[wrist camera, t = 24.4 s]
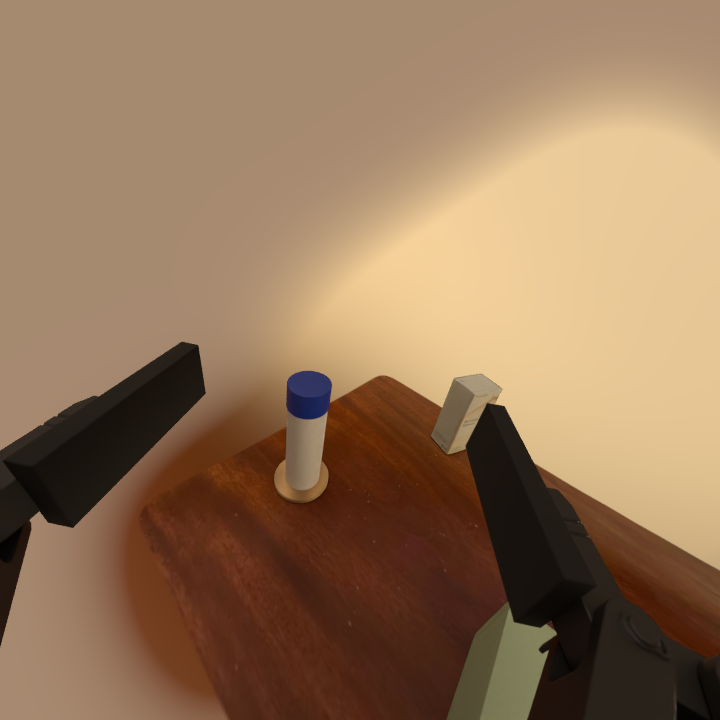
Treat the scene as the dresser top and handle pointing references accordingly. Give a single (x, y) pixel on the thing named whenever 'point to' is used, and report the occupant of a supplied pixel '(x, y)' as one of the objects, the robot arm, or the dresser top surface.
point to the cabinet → (501, 670)
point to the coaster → (299, 495)
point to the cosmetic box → (463, 411)
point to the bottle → (306, 427)
